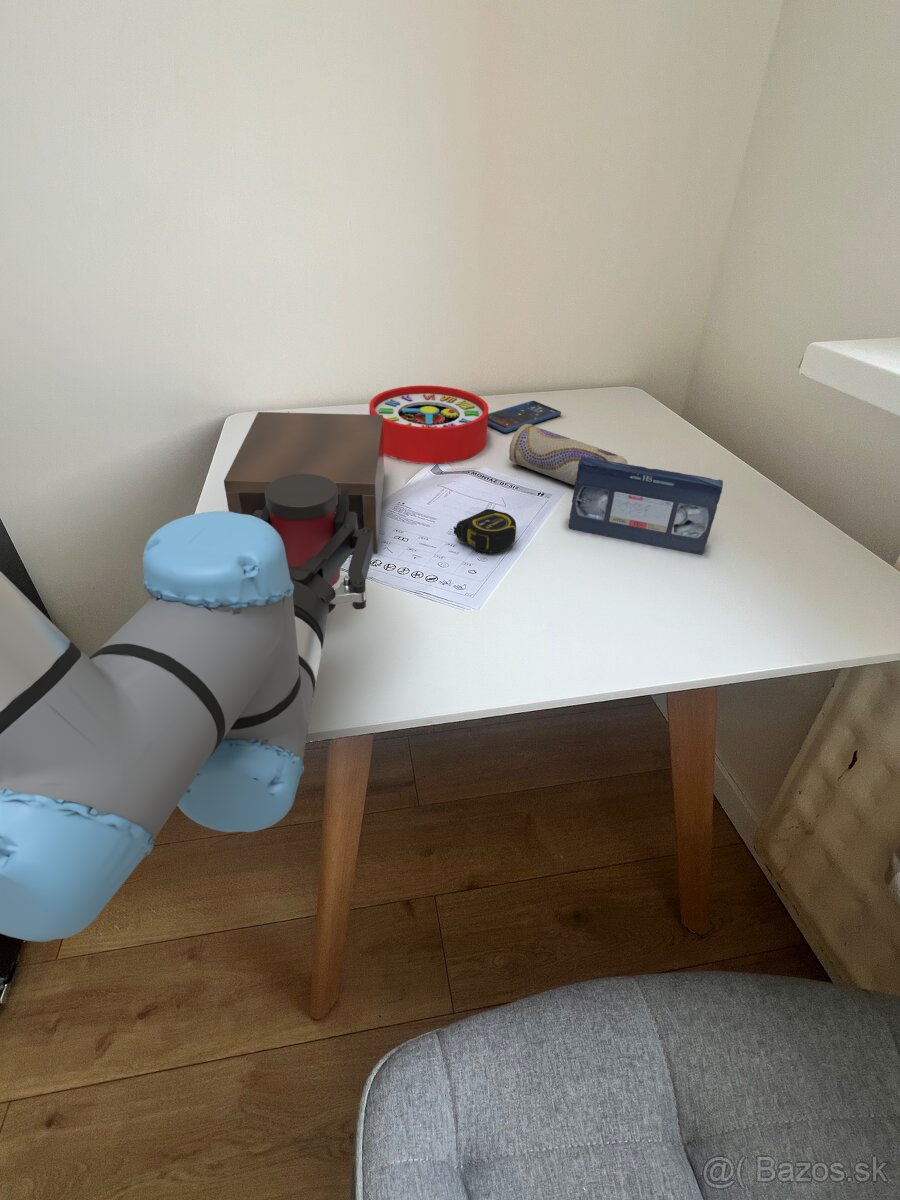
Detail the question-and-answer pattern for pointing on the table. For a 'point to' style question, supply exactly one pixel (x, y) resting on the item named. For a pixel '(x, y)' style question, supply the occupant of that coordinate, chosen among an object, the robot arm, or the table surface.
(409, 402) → the toy clock
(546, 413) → the smartphone
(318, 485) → the canister
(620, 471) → the vhs cassette tape
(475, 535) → the tape measure
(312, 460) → the shelf
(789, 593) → the table surface
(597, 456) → the decorative bottle
